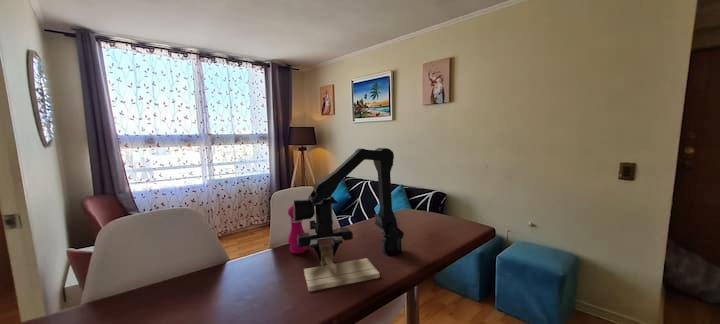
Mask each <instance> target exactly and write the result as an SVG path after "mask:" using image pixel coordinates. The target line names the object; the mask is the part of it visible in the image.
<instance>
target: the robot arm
mask: <svg viewBox="0 0 720 324" xmlns="http://www.w3.org/2000/svg"><path fill="white" fill-rule="evenodd" d="M394 159H395V155H394V151H393V150H391V148H387V147H377V148H375V149H365V148H357V149H355V151H354V152H353V153H352V154H351V155H350V156H348V158H346V159H345V160H344V161H343V162H342V163H341V164H340V165H339V166H338V167H336V168H335V170H333V171H332V172H331V173H329V174H327V175H325V176H323V177H322V178H320V179H319V180H317V181H316V182H315V183H314V184H313V186H312V188H313V190H312V192H311V193H310V195H309V196H308V197H307V198H306V199H293V202H294V205H293V204H292V206H293V216H294V221H297V220H302V221H304V220H309V230H310V231H311V230H314V231H315V234H311V235H310V233H309V232H305V233H301V234H298V235H297V242H298V245H299V247H303V246H306V247H308V246H309V248H313V250H314V251H315V253H316V256H317V259H318V261H319V263H320V262H321V256H320V249H319V246H320V245H319V243H318V241H323V240H330V239H331V245H330V246H331V248H332V249H333V260H334V259H335V255H336V253H337V250H338V248H339V247H340V244H342V243H343V241H350V240H351V241H352V240H353V239H354V236H353V235H354V234H353V231H352V230H351V229H350V228H349V227H342V228H338V230H337V231H335V232H334V226H333V224H334V221H333V204H334V205H335V204H336V205H337V204H338V200H336V199H335V198H334V196H332V195H333V194H334V193H335V192H336V190H337V189H338V186H339V184H340V183H341V182H342V181H343V180H344V179H345V178H347V176H348V175H349V174H351V173H352V172H353V171H354V170H355V169H356V168H357V167H359V165H360V164H361V163H362V162H364V161H366V160H368V161H372V162H373V164H374V167H375V169H376V172H377V183H378V198H379V201H378V203H379V211H378V213H374V217H375V218H374V219H375V220H374V221H375V222H374V224H375V226H376V227H377V229H378V230H379V231H380V232H381V234H383V235H382V240H381V251H382V252H383V253H384V254H386V256H395V255H400V254H404V253H405V252H404V250H402V239H403V238H404V235H405V232H404V231H403V230H401V229H400V228H399V227H398V222H397V218H396V215H395V214H394V213H395V212H394V210H393V202H392V201H393V199H392V198H393V197H392V183H391V179H392V178H391V171H392V168H393V166H394ZM314 216H315V220H313V219H312V218H313V217H314ZM310 219H311V220H310Z"/></svg>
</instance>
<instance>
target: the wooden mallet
mask: <svg viewBox="0 0 720 324" xmlns="http://www.w3.org/2000/svg"><path fill="white" fill-rule="evenodd" d="M331 246H332V245H331V243H330V244H329V243H328V244H322V245H319V249H320V256H321V262H320V261H319V263H320V264H319V265H320V266H325V265H328V267H329V269H330V271H331V273H333V274H335V273H336V267H335V265H334V264H335V262H334V259H333V249H332V248H331Z"/></svg>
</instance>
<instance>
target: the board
mask: <svg viewBox="0 0 720 324" xmlns="http://www.w3.org/2000/svg"><path fill="white" fill-rule="evenodd" d="M334 265H335V267H336V273H335V274H333V273H331V271H330V269H329V267H328V265H325V266H321V265H320V266H315V267H309V268H303V275H304V278H305V281H306V286H307V289H308V290H307V291H308V292H309V293H310V292H314V291H320V290H325V289H329V288H334V287H339V286H345V285H349V284H354V283H360V282H365V281H369V280H374V279H375V280H376V279H379V278H380V276H381V275H380V272H379V271H378V269H377V268H376V267H375V265H373V263H372V262H371V261H370V259H368V258H367V257H365V258H360V259H354V260H349V261H343V262H337V263H334Z"/></svg>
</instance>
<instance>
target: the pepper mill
mask: <svg viewBox="0 0 720 324" xmlns="http://www.w3.org/2000/svg"><path fill="white" fill-rule="evenodd" d="M293 205H294V201H293V202H292V205H291V206H289V208H288V210H287V215H288V216H289V222H290V223H291V225H290V227H291V228H290V232H289V235H288V238H287V243H288V245H290V247H289V253H291V254H301V253H304V252H306V250H307V246H303V247H299V245H298V242H297V235H298V234H301V233H306V232H305V230H304V228H303V223H302V222H303V220H297V221H294V216H293Z"/></svg>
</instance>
